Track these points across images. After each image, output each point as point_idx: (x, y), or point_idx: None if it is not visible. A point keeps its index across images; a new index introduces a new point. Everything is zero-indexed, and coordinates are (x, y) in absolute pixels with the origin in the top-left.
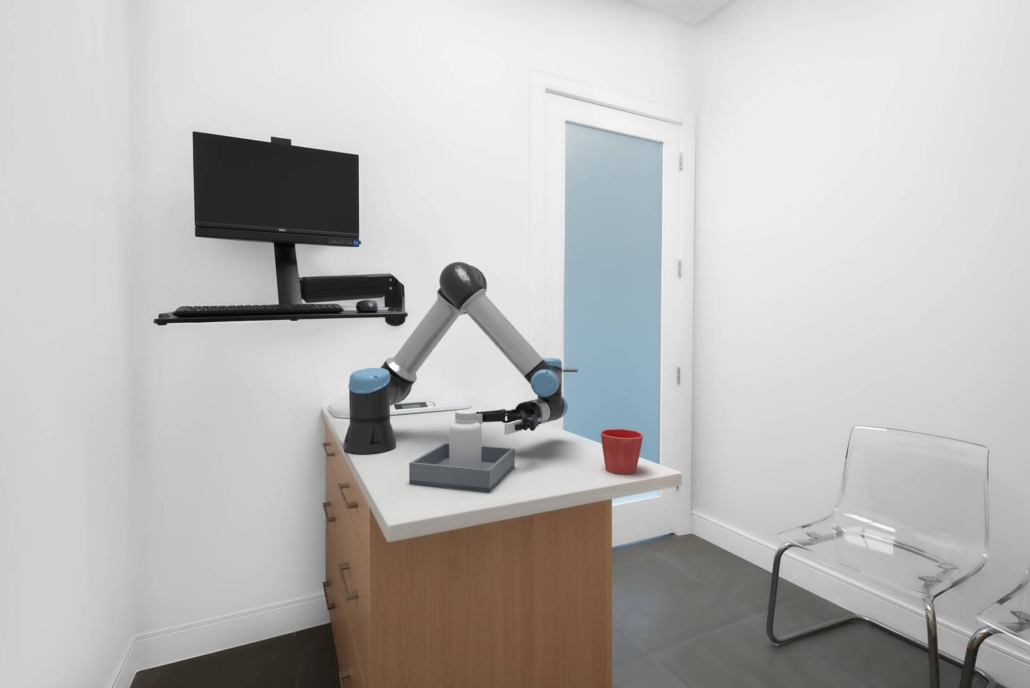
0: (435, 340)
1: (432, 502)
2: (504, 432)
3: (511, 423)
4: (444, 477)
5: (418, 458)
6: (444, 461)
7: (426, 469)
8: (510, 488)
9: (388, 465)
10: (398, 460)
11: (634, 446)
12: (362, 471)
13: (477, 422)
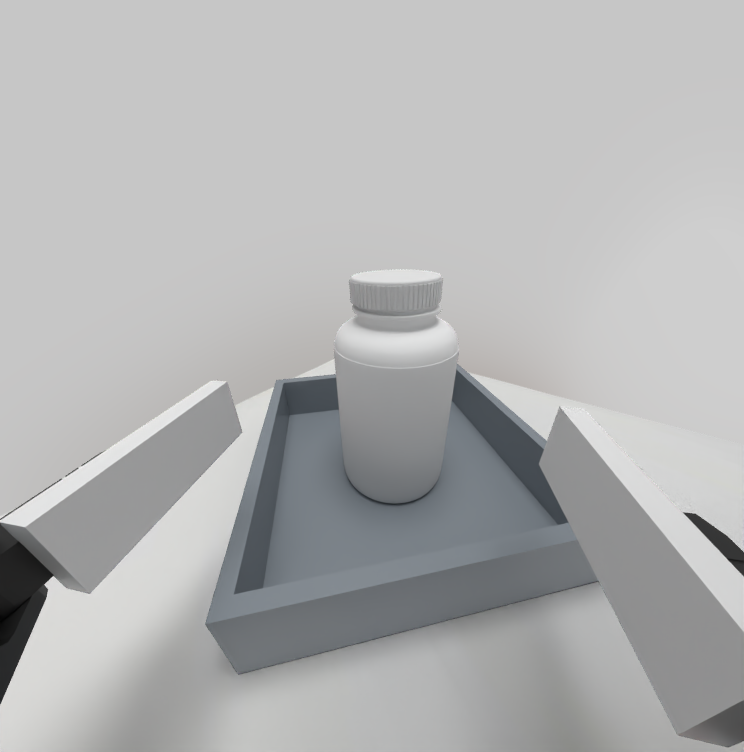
0: None
1: None
2: (239, 423)
3: (175, 407)
4: None
5: (471, 378)
6: (536, 514)
7: None
8: (240, 449)
9: (632, 450)
10: (698, 495)
11: None
12: (599, 407)
13: (353, 330)
